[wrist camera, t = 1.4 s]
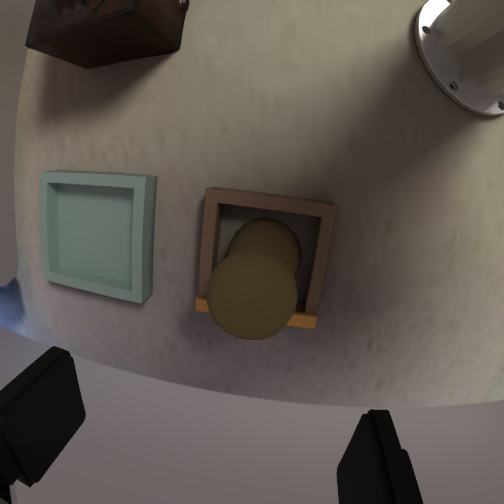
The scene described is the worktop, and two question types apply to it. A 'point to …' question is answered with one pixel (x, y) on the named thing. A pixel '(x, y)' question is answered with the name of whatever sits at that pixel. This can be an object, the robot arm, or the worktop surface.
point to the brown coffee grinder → (106, 29)
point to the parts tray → (98, 231)
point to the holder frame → (218, 196)
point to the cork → (256, 281)
